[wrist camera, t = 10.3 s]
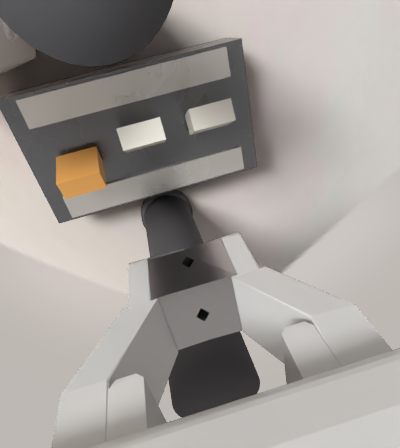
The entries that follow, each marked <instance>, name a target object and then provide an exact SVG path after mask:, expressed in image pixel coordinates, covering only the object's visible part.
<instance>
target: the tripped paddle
mask: <svg viewBox="0 0 400 448" xmlns="http://www.w3.org/2000/svg"><path fill="white" fill-rule="evenodd" d="M56 185H57V187H58V188H59V190H60V191H61V193H62V194H63V196H64V197H65V199H68V198H72V197H75V196H79V195H82V194H86V193H90V192H93V191H97V190H100V189H104V188H107V185H106V178H105V171H104V164H103V160H102V158H101V156H100V154H99V151H98V149H97V147H96V146H95V147H91V148H88V149H84V150H80V151H77V152H73V153H69V154H66V155H62V156H58V157H56Z"/></svg>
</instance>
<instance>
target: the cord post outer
mask: <svg viewBox="0 0 400 448" xmlns="http://www.w3.org/2000/svg"><path fill="white" fill-rule="evenodd" d="M141 215H142V222H143V225H144V227H145V228H146V232H147V238H148V245H149V252H150V257H154V256H158V255H161V254H165V253H169V252H172V251H176V250H180V249H185V248H189V247H192V246H195V245H198V244H202V243H203V241H202V238H201V236H200V233H199V231H198V229H197V226H196V224H195V221H194V219H193V217H192V208H191V205H190V203H189V201H188V199H187V197H186V196H185V195H184V194H183V193H181V192H179V191H177V190H174V191H170V192H167V193H164V194H160V195H157V196H153V197H150V198H146V199H145V201H144V203H143V205H142V209H141ZM168 379H169V385H170V392H171V399H172V405H173V408H174V410H175V412H176V413H177V414H178V415H179V416H180V417H182V418H183V417H186V416H189V415H192V414H195V413H199V412H202V411H205V410H208V409H211V408H214V407H217V406H220V405H224V404H227V403H230V402H233V401H236V400H239V399H242V398H246V397H249V396H252V395H255V394H257V392H258V390H259V387H260V380H259V376H258V374H257V372H256V369H255V367H254V364H253V362H252V359H251V357H250V355H249V352H248V350H247V347H246V345H245V343H244V340H243V338H242V335H241V333H240V331H238V332H235V333H231V334H228V335H224V336H220V337H217V338H213V339H210V340H207V341H204V342H201V343H198V344H195V345H192V346H189V347H186V348H183V349H180V350H178V355H177V357H176V360H175V363H174V365H173V368H172V370H171V373H170V376H169V378H168Z"/></svg>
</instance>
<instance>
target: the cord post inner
mask: <svg viewBox="0 0 400 448" xmlns="http://www.w3.org/2000/svg"><path fill="white" fill-rule="evenodd" d="M172 2H173V0H0V18H1V19H2V20H3V21H4V22H5V23H6V24H7V26H8V27H9V28H10V29H11V30H12V31H13V32H14V33H16V34H17V35H18V36H19V37H20V38H22V39H23V40H24V41H25V42H26V43H28V44H29V45H31V46H32V47H34V48H35V49H37V50H38V51H40V52H42V53H44V54H46V55H48V56H50V57H52V58H55V59H57V60H60V61H63V62H66V63H70V64H74V65H81V66H103V65H109V64H114V63H117V62H120V61H123V60H125V59H127V58H129V57H131V56H133V55H134V54H136V53H137V52H139V51H140V50H141V49H143V48H144V47H145V46H146V45H147V44H148V43H149V42H150V41H151V40H152V39H153V38H154V36H155V35H156V34H157V33H158V31H159V30H160V28H161V27H162V25H163V23H164V21H165V20H166V18H167V15H168V13H169V11H170V8H171V5H172Z"/></svg>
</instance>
